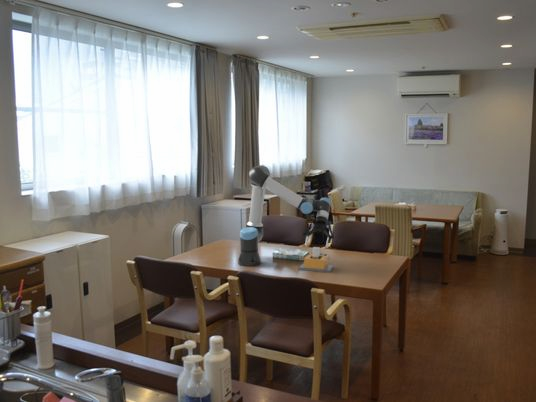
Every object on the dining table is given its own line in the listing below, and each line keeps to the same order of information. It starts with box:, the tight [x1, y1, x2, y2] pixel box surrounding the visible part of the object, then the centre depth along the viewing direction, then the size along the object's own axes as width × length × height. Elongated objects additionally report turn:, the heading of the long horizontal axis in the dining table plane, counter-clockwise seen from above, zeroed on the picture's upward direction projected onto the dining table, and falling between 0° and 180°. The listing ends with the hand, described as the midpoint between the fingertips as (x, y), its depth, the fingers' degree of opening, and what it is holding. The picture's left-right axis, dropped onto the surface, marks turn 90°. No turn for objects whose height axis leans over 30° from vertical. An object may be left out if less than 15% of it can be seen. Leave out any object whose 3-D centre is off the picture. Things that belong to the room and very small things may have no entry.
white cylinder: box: [311, 246, 321, 259], centre depth 319 cm, size 4×4×12 cm
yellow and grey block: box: [297, 254, 335, 273], centre depth 320 cm, size 20×12×8 cm, turn 71°
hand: (316, 246), depth 317 cm, fingers open, 13 cm apart
